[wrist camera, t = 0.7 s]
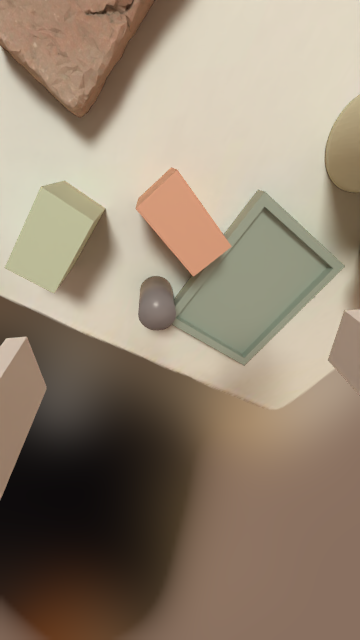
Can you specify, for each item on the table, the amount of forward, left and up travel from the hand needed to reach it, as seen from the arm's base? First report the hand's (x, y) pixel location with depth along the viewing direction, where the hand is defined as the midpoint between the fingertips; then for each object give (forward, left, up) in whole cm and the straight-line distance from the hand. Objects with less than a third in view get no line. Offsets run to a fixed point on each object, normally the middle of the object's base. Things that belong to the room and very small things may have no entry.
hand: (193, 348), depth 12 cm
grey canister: (+3, -7, -22) cm, 23 cm away
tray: (+13, 0, -22) cm, 25 cm away
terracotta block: (0, +2, -22) cm, 22 cm away
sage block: (-9, -6, -22) cm, 25 cm away
